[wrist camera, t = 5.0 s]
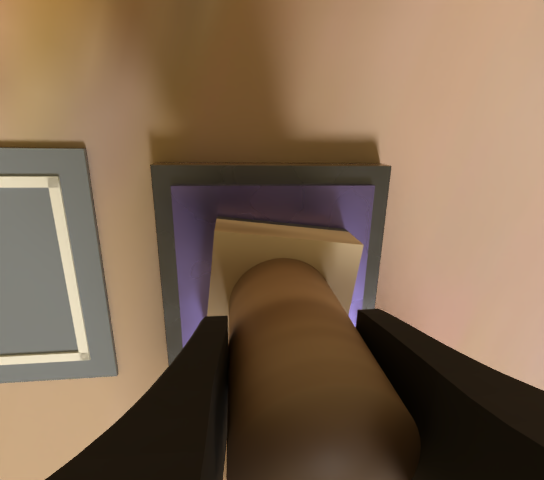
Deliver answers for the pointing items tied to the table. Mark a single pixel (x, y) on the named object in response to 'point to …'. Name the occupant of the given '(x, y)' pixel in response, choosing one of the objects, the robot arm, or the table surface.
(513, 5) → the table surface
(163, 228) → the ink pad
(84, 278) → the desk mat
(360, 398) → the stamp
